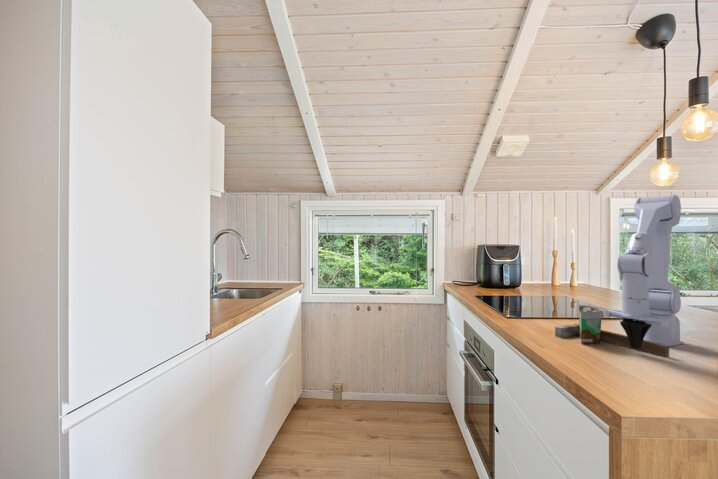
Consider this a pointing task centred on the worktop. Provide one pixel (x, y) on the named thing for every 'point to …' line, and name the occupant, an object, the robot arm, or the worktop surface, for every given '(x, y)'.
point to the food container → (590, 324)
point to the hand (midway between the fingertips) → (635, 347)
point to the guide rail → (616, 340)
